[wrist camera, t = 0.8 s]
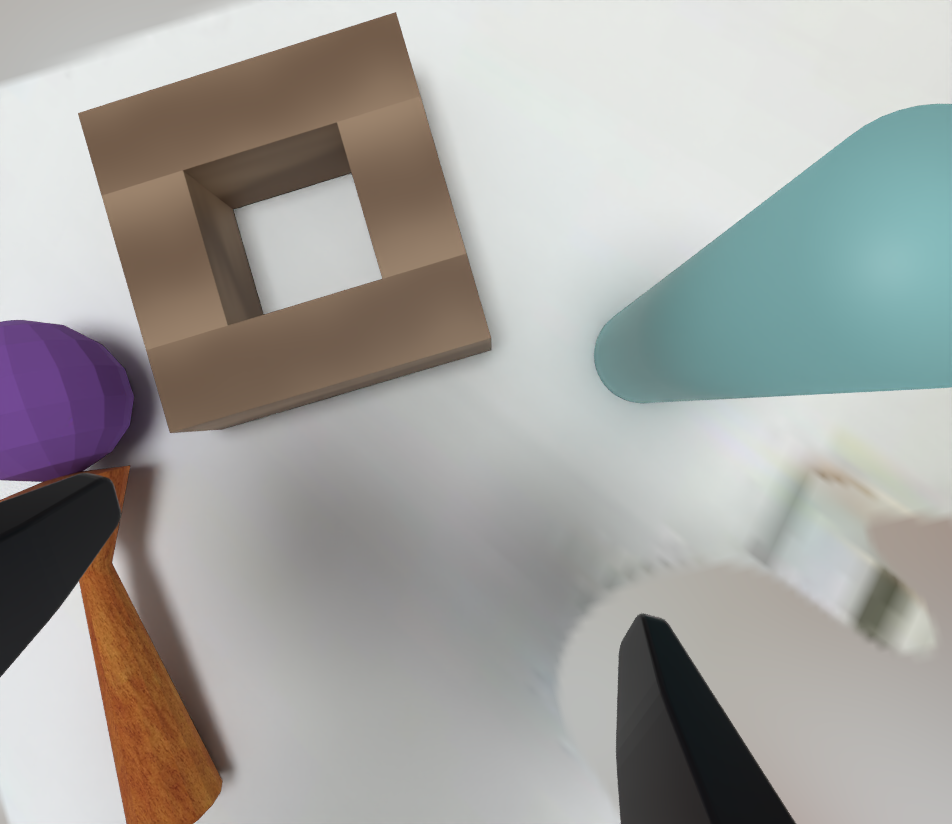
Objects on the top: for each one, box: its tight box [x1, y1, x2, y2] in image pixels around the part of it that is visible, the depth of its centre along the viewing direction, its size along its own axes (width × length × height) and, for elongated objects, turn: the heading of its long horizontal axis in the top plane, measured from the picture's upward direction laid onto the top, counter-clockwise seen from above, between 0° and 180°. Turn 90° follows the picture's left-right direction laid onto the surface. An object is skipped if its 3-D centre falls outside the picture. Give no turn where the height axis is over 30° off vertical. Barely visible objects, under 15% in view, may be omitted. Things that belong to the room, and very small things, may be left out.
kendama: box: [0, 320, 222, 824], centre depth 20 cm, size 6×6×20 cm
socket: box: [78, 12, 491, 433], centre depth 20 cm, size 12×12×4 cm
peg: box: [594, 104, 952, 403], centre depth 14 cm, size 4×4×14 cm
